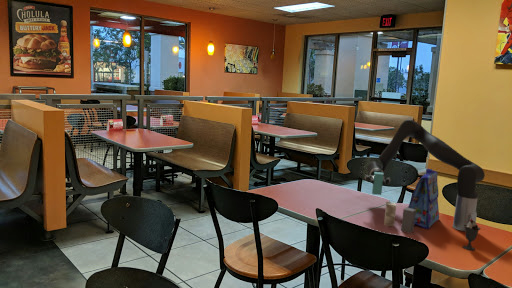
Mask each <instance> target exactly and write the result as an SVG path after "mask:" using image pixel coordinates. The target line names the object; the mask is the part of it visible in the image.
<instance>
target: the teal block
mask: <svg viewBox="0 0 512 288" xmlns="http://www.w3.org/2000/svg"><path fill="white" fill-rule="evenodd" d="M383 175H384V176H385V173H384V174H383V173H381V172H374V184H372V188H371V189H372V190H371V193H372V195H379V196H382V194H383V193H382V192H383V185H382V183H383Z"/></svg>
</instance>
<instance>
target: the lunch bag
mask: <svg viewBox="0 0 512 288" xmlns="http://www.w3.org/2000/svg"><path fill="white" fill-rule="evenodd" d="M438 184H439V183H438V172H437V171H435V170H433V169H431V168H426V169H425V173H424V174H423V175H422V176H421V177H420V178H419V180H418V181H417V183H416V185H415V188H414V191H413V193H412V196H411V199H410V201H409V203H408V208H412V209H416V214H415V221H414V225H416V226H419V227H422V228H423V229H425V230H428V229H430V228H431V227H432V226H433V225H434V224H435V222H437V221H438V220H439V219H440V212H439V200H438V199H439V185H438Z"/></svg>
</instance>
